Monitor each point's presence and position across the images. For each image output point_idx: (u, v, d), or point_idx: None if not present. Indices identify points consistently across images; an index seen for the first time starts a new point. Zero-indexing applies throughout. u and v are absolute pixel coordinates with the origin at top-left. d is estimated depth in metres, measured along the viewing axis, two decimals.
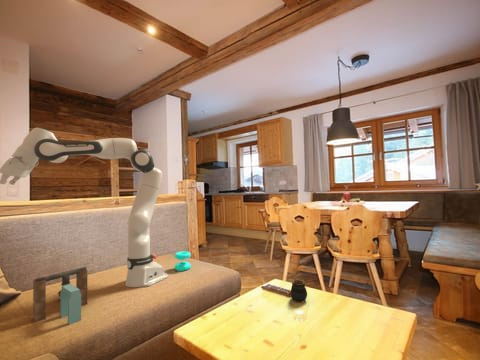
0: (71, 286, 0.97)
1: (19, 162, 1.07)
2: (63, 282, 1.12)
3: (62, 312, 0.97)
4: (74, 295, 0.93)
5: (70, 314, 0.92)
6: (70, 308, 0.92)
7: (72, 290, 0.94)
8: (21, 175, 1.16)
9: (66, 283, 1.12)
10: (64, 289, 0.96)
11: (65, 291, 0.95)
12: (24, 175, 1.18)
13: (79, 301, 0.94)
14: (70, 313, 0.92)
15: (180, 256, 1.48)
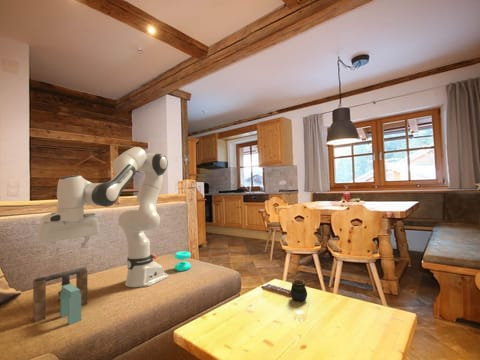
0: (71, 286, 0.97)
1: None
2: (63, 282, 1.12)
3: (62, 312, 0.97)
4: (74, 295, 0.93)
5: (70, 314, 0.92)
6: (70, 308, 0.92)
7: (72, 290, 0.94)
8: None
9: (66, 283, 1.12)
10: (64, 289, 0.96)
11: (65, 291, 0.95)
12: None
13: (79, 301, 0.94)
14: (70, 313, 0.92)
15: (180, 256, 1.48)
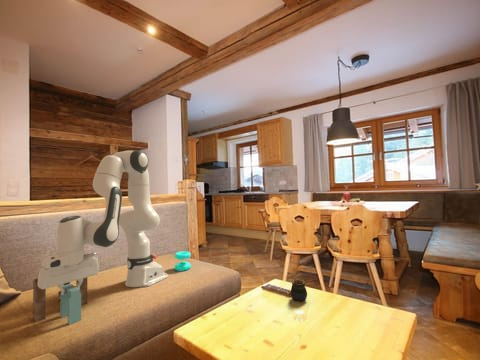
0: (71, 286, 0.97)
1: None
2: None
3: (62, 312, 0.97)
4: (74, 295, 0.93)
5: (70, 314, 0.92)
6: (70, 308, 0.92)
7: (72, 290, 0.94)
8: None
9: (66, 283, 1.12)
10: None
11: None
12: None
13: (79, 301, 0.94)
14: (70, 313, 0.92)
15: (180, 256, 1.48)
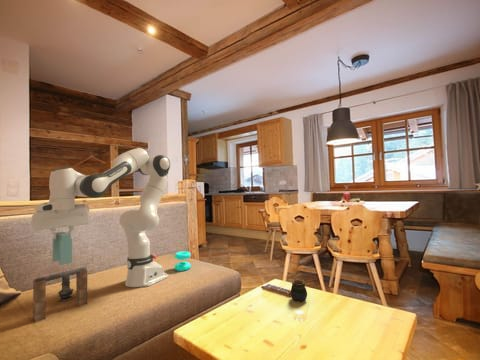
0: (63, 233, 1.04)
1: None
2: (63, 282, 1.12)
3: (54, 256, 1.03)
4: (65, 238, 1.00)
5: (61, 255, 0.98)
6: (61, 250, 0.98)
7: (63, 234, 1.00)
8: None
9: (66, 283, 1.12)
10: None
11: None
12: None
13: (70, 245, 1.01)
14: (61, 254, 0.98)
15: (180, 256, 1.48)
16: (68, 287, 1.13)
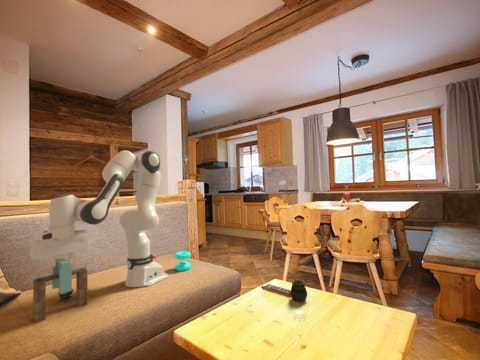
0: (62, 260, 1.03)
1: None
2: None
3: (54, 284, 1.03)
4: (65, 267, 0.99)
5: (61, 284, 0.98)
6: (61, 278, 0.98)
7: (63, 262, 1.00)
8: None
9: None
10: None
11: None
12: None
13: (70, 273, 1.00)
14: (60, 283, 0.98)
15: (180, 256, 1.48)
16: None
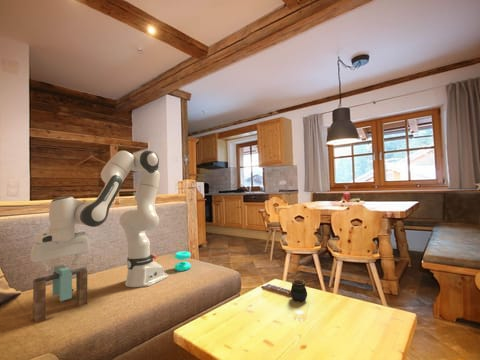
0: (62, 267, 1.03)
1: None
2: None
3: (54, 291, 1.03)
4: (65, 274, 0.99)
5: (61, 291, 0.98)
6: (61, 286, 0.98)
7: (63, 269, 1.00)
8: None
9: None
10: (56, 269, 1.02)
11: (57, 271, 1.02)
12: None
13: (70, 280, 1.00)
14: (61, 290, 0.98)
15: (180, 256, 1.48)
16: None
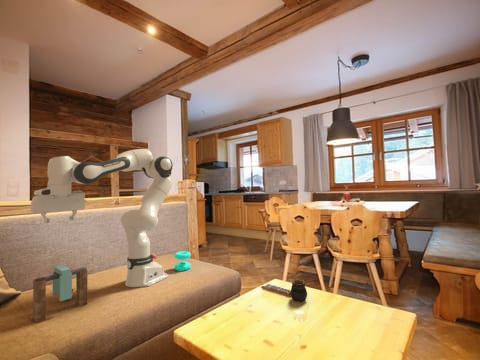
0: (62, 267, 1.03)
1: None
2: None
3: (54, 291, 1.03)
4: (65, 274, 0.99)
5: (61, 291, 0.98)
6: (61, 286, 0.98)
7: (63, 269, 1.00)
8: None
9: None
10: (56, 269, 1.02)
11: (57, 271, 1.02)
12: None
13: (70, 280, 1.00)
14: (61, 290, 0.98)
15: (180, 256, 1.48)
16: None
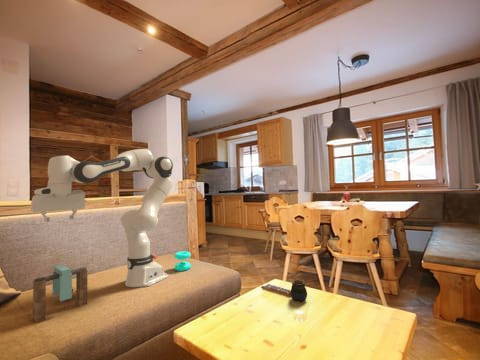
0: (62, 267, 1.03)
1: None
2: None
3: (54, 291, 1.03)
4: (65, 274, 0.99)
5: (61, 291, 0.98)
6: (61, 286, 0.98)
7: (63, 269, 1.00)
8: None
9: None
10: (56, 269, 1.02)
11: (57, 271, 1.02)
12: None
13: (70, 280, 1.00)
14: (61, 290, 0.98)
15: (180, 256, 1.48)
16: None
